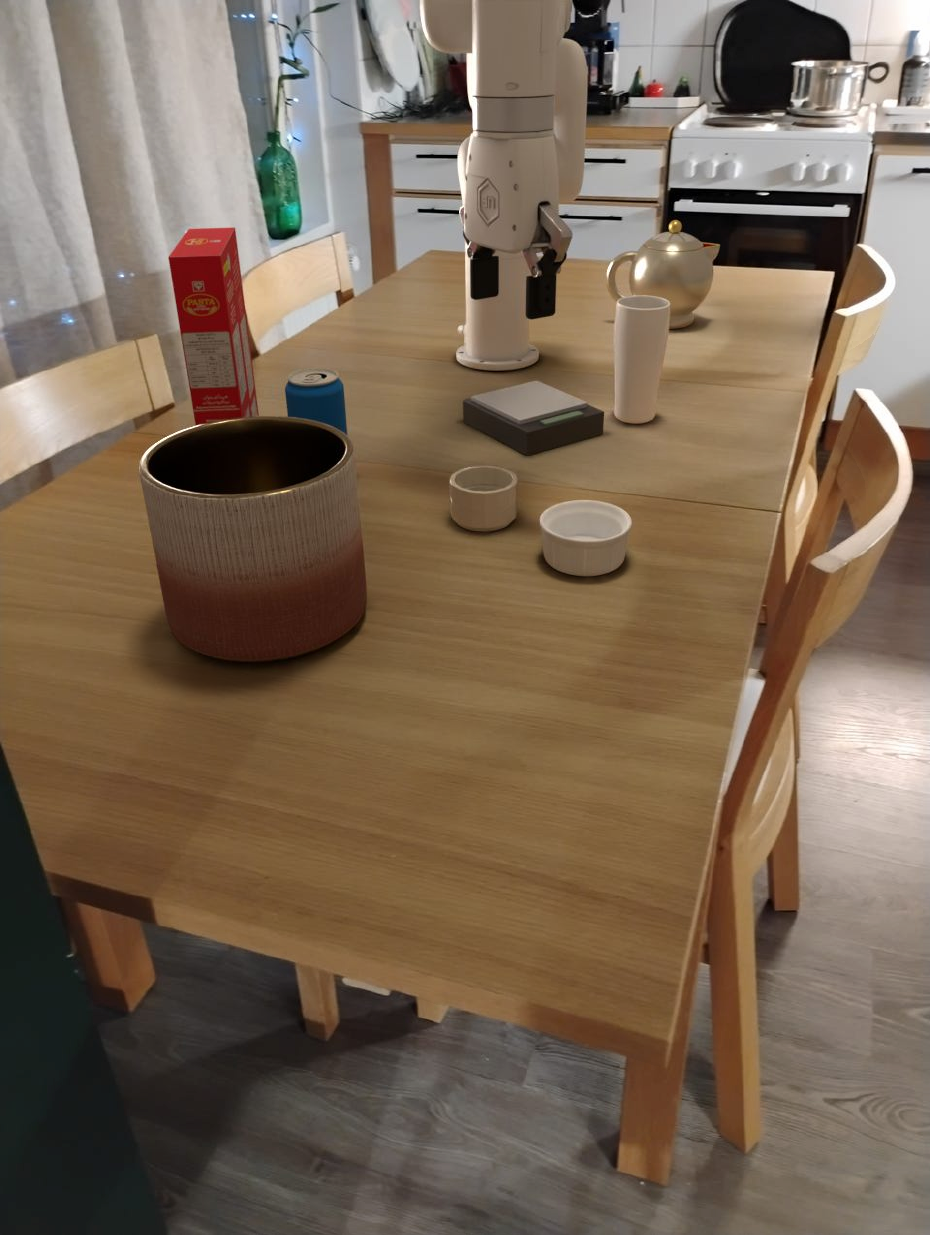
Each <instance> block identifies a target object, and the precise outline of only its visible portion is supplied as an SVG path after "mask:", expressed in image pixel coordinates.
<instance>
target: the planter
mask: <svg viewBox="0 0 930 1235" xmlns="http://www.w3.org/2000/svg"><path fill="white" fill-rule="evenodd" d="M356 463H357V462H356V452H355V446H354V442H353V441H352V440H351V438H350V437H349V436H348V434H347V435H346V434H345V433H343V432H342V431H340V430H339V429H337V428H335V427H333V426H330V425H328V424H325V423H321V422H318V421H314V420H309V419H303V418H296V417H288V416H283V415H282V416H281V415H259V416H253V417H241V418H232V419H225V420H220V421H214V422H210V423H205V424H201V425H198V426H196V425H194V426H192V427H187V428H185V429H182V430H179V431H177V432H174V433H173V434H170V435H168V436H166V437H164V438H162V439H161V440H159V441H158V442H156V443H154V444H152V446H150V447H149V448H148V449H147V450H146V451H145V452H144V453H143V455H142V456H141V458H140V460H139V463H138V472H139V478H140V483H141V488H142V494H143V499H144V504H145V509H146V515H147V520H148V525H149V531H150V536H151V541H152V546H153V552H154V558H155V564H156V569H157V574H158V575H157V576H158V580H159V586H160V591H161V596H162V602H163V605H164V611H165V615H166V619H167V623H168V626H169V629H170V630H171V632H172V634H173V636H174V637H175V639H177V640H178V641H179V642H180V643H181V644H183V645H184V646H185V647H186V648H188V649H190V650H192V651H194V652H196V653H199V654H201V655H203V656H207V657H210V658H214V659H218V660H223V661H228V662H235V663H236V662H238V663H265V662H274V661H281V660H288V659H292V658H296V657H300V656H303V655H306V654H309V653H312V652H315V651H317V650H320V649H322V648H324V647H326V646H328V645H330V644H332V643H334V642H335V641H337V640H338V639H340V638H342V637H343V636H344V635H345V634H347V633H349V631H350V630H352V629H353V627H355V626H356V625H357V624H358V622H359V621H360V620H361V618H362V616H363V615H364V612H365V610H366V607H367V600H368V589H367V588H368V585H367V572H366V563H365V562H366V561H365V551H364V541H363V532H362V531H363V530H362V520H361V512H360V500H359V490H358V489H359V488H358V475H357V464H356Z"/></svg>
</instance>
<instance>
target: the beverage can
mask: <svg viewBox="0 0 930 1235" xmlns="http://www.w3.org/2000/svg"><path fill="white" fill-rule="evenodd" d="M339 377H340V374H339V372H338V371H336V370H334V369H331V368H327V367H326V368H325V367H310V368H302V369H298V370H295V371H293V372H291V373H289V374H288V376H287V383H286V384H285V387H284V395H285V402H286V411H287V417H296V418H303V419H309V420H314V421H318V422H321V423H325V424H328V425H330V426H333V427H335V428H337V429H339V430H340V431H342V432H343V433H345V434H346V435H347V436H348V425H347V412H346V411H347V410H346V401H345V388H344V383H343V381H342V380H341V379H340V378H339Z"/></svg>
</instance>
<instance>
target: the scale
mask: <svg viewBox="0 0 930 1235" xmlns="http://www.w3.org/2000/svg"><path fill="white" fill-rule="evenodd" d="M462 422H463V423H465V424H466V425H469V426H470V427H473V428H474V429H476V430H477V431H480V432H482V433H484V434H485V435H487V436H489V437H491V438H492V439H495V440H497V441H498V442H501V443H503V444H504V445H507V446H508V447H510V448H512V449H514V450H516V451H517V452H520V453H521V454H523V455H524V456H527V457H528V456H532V455H535V454H538V453H542V452H546V451H549V450H552V449H556V448H559V447H562V446H566V445H569V444H570V445H571V444H574V443H577V442H581V441H585V440H587V439H591V438H595V437H597V436H601V435H604V425H605V424H604V422H605V411H604V410H603V409H602V410H601V409H600V408H597V407H594V406H592V405H590V404H589V403H588V402H587V401H585V400H583V399H581V398H578V397H576V396H573V395H571V394H569V393H567V392H565V391H562V390H560V389H557V388H555V387H553V386H551V385H548V384H545V383H544V382H542V381H539V380H533V381H528V382H525V383H521V384H516V385H513V386H508V387H503V388H500V389H496V390H492V391H487V392H483V393H479V394H475V395H471V397H469V398H465V399H463V400H462Z"/></svg>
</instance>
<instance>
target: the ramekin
mask: <svg viewBox="0 0 930 1235" xmlns="http://www.w3.org/2000/svg"><path fill="white" fill-rule="evenodd" d="M632 524H633V519H632V518H631V516H630V515H629V513H628V512H627V511H626V510H625V509H623V508H621V507H620V506H617V505H614V504H612V503H610V502H605V501H601V500H594V499H593V500H592V499H576V500H568V501H563V502H559V503H556V504H553V505H551V506H549V507H548V508H546V509H544V510H543V512H542V513H541V514H540V517H539V526H540V529H541V537H542V538H541V539H542V552H543V557H544V559H545V562H546V563H547V564H548V565H549V566H550V567H552V569H555V570H556V571H558V572H561V573H562V574H563V573H564V574H567V575H569V576H574V577H575V576H577V577H597V576H602V575H606V574H609V573H611V572H613V571H616V569H618V568H619V567H621V565H622V564H623V562H624V560H625V556H626V550H627V545H628V538H629V534H630V532H631V530H632Z"/></svg>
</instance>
